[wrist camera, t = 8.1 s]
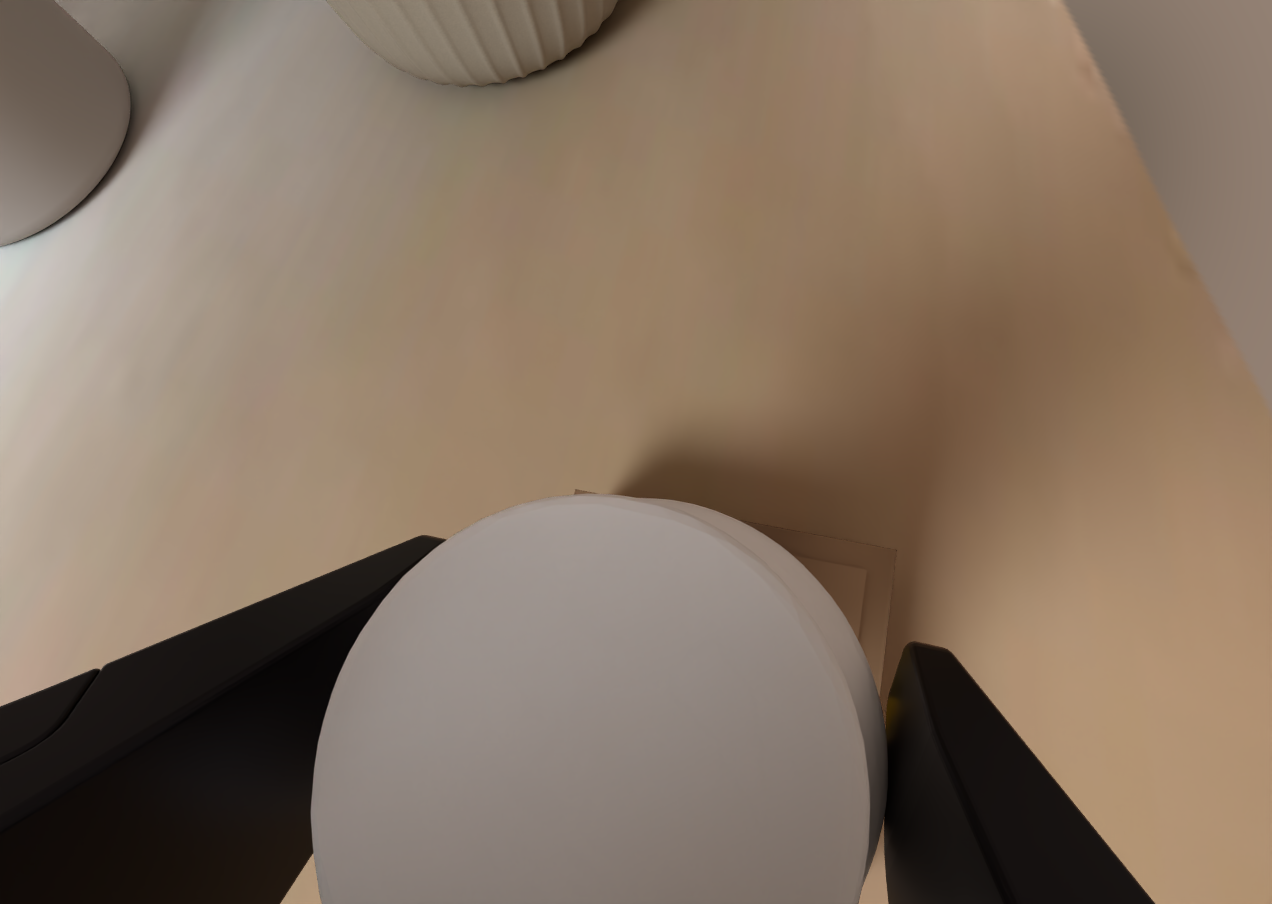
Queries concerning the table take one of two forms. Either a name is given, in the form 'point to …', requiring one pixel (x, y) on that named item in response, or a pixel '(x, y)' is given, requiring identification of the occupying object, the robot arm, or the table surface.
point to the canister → (472, 35)
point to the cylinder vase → (53, 115)
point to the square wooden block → (846, 582)
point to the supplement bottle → (602, 721)
